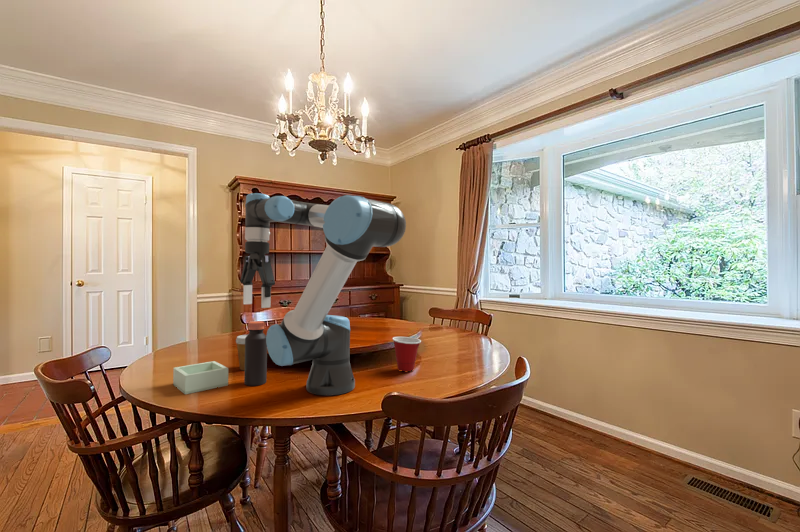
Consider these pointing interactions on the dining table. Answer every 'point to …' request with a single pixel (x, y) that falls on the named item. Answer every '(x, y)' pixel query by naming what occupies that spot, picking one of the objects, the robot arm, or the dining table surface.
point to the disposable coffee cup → (241, 350)
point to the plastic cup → (406, 352)
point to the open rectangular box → (200, 377)
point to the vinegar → (255, 355)
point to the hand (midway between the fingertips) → (256, 305)
